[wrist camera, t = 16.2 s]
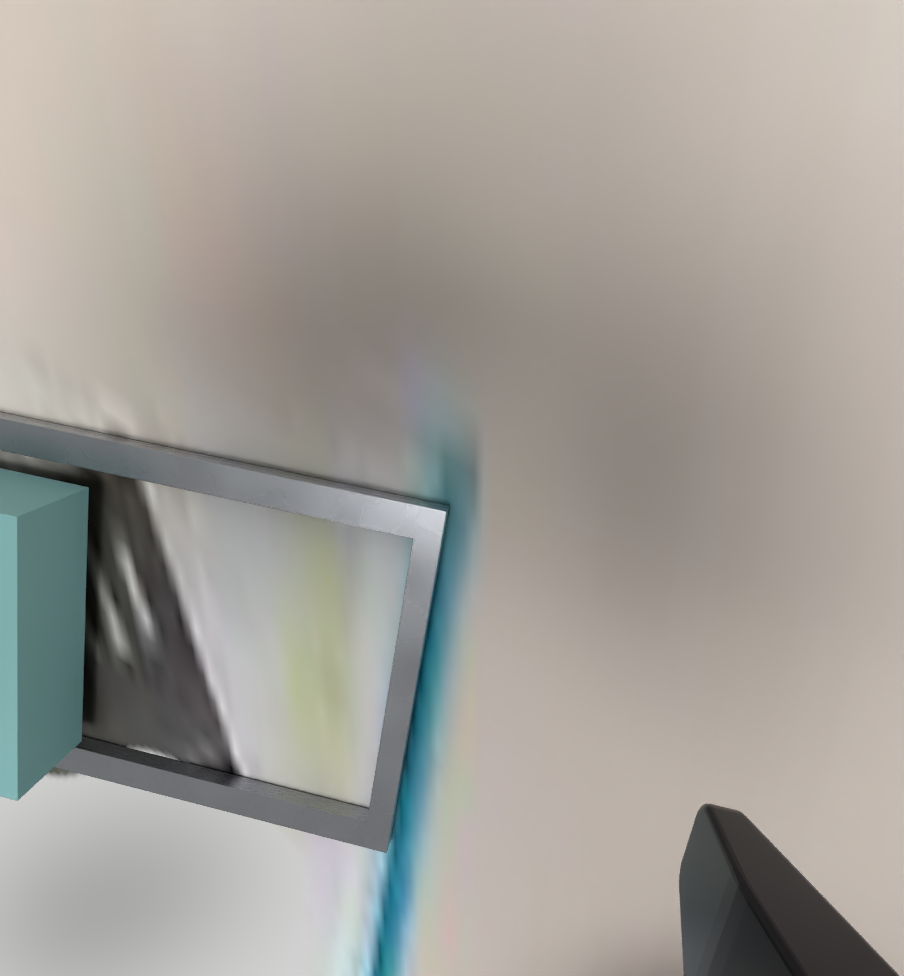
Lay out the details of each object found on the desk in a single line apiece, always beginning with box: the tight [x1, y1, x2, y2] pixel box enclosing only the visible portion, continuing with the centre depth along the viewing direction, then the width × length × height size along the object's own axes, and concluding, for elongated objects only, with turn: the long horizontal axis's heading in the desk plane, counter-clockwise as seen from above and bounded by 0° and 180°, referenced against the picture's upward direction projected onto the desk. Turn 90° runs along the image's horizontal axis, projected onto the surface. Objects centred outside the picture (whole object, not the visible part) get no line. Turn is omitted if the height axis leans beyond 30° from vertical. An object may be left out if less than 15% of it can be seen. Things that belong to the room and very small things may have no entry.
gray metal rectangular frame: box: [0, 412, 449, 853], centre depth 23 cm, size 12×22×2 cm, turn 81°
